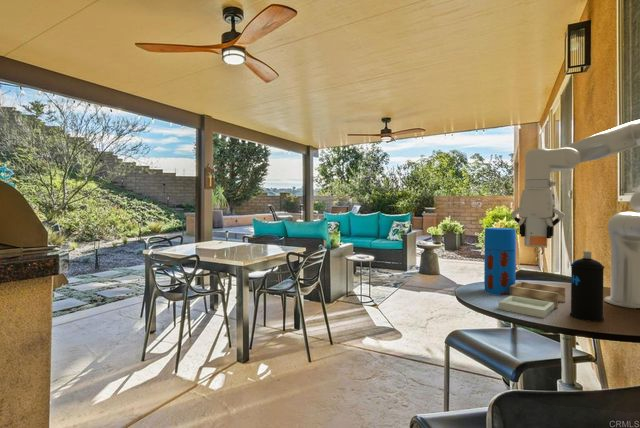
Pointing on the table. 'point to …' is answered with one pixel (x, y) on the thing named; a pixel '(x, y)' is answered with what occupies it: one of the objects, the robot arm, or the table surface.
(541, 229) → the skincare box
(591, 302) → the aerosol can
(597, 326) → the table surface
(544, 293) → the bay
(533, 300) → the tray
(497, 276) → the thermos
